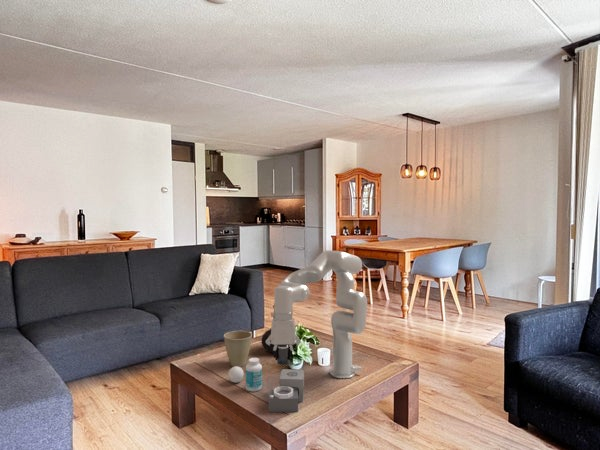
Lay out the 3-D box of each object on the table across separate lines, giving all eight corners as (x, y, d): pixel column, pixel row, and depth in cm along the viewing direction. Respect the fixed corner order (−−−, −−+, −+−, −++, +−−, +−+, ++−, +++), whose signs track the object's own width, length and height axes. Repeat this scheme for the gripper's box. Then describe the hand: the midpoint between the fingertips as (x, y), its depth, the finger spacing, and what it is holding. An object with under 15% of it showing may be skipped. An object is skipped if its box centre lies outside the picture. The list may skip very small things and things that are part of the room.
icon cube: (279, 401, 166) (279, 378, 166) (282, 390, 176) (282, 369, 176) (303, 402, 166) (303, 379, 165) (304, 391, 176) (304, 369, 175)
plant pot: (250, 370, 198) (249, 339, 198) (221, 369, 199) (221, 339, 198) (254, 358, 213) (253, 330, 213) (227, 358, 214) (227, 330, 213)
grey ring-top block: (297, 401, 166) (297, 385, 166) (298, 411, 158) (298, 394, 158) (269, 402, 166) (269, 386, 165) (268, 412, 158) (268, 395, 157)
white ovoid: (247, 382, 185) (246, 367, 184) (233, 386, 180) (233, 371, 180) (235, 375, 192) (235, 360, 192) (222, 379, 187) (222, 364, 187)
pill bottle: (255, 393, 173) (255, 364, 173) (242, 389, 177) (242, 360, 177) (265, 387, 180) (265, 358, 179) (252, 383, 183) (252, 355, 183)
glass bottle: (256, 353, 221) (255, 305, 220) (270, 343, 237) (270, 298, 236) (284, 358, 214) (284, 308, 213) (297, 347, 230) (297, 301, 229)
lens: (289, 364, 158) (289, 345, 158) (276, 365, 158) (276, 345, 158) (289, 360, 163) (289, 341, 163) (277, 360, 163) (277, 341, 163)
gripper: (262, 318, 156) (262, 362, 157) (304, 318, 157) (304, 362, 157) (263, 313, 164) (263, 356, 164) (303, 313, 164) (303, 355, 165)
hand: (283, 358), depth 161 cm, fingers closed on lens, 5 cm apart
